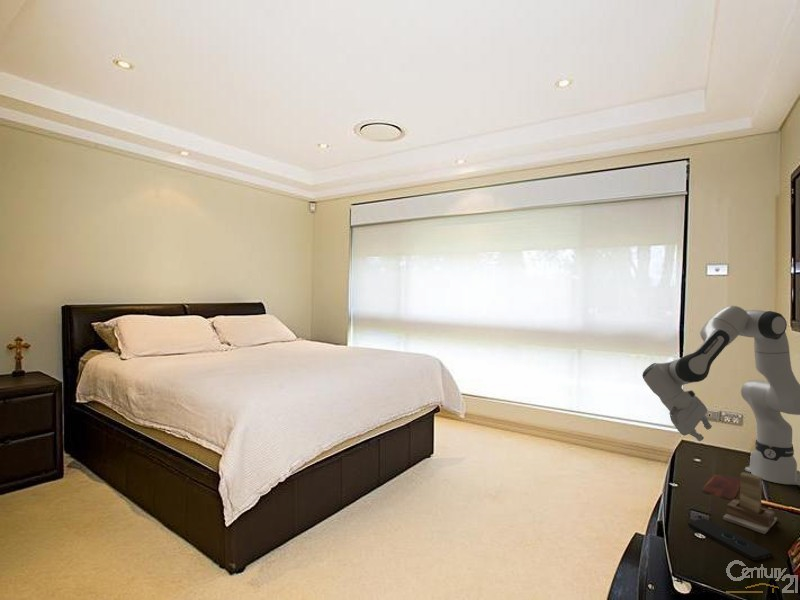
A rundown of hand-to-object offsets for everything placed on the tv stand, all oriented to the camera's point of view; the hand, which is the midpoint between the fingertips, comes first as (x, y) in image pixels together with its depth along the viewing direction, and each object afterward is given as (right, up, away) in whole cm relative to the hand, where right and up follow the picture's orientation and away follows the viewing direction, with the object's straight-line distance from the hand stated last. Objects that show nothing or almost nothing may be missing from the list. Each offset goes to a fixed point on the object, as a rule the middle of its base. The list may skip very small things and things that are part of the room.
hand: (705, 434), depth 162 cm
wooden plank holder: (+3, -24, -17) cm, 29 cm away
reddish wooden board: (+14, -24, +9) cm, 29 cm away
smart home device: (-14, -24, -29) cm, 40 cm away
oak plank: (+3, -23, -17) cm, 28 cm away
